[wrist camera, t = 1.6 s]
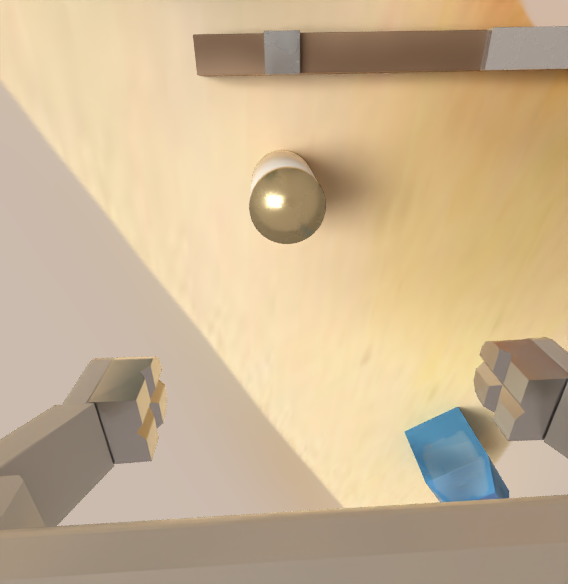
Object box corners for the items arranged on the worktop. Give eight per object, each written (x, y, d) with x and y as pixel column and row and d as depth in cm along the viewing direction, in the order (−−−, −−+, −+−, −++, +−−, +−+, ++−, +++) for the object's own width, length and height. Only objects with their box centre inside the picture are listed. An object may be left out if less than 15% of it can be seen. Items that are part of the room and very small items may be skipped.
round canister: (250, 151, 28) (246, 169, 22) (312, 149, 28) (326, 167, 22) (253, 212, 30) (251, 245, 24) (311, 210, 30) (324, 242, 24)
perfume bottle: (457, 406, 41) (526, 518, 30) (477, 440, 43) (547, 554, 33) (404, 431, 42) (452, 547, 32) (426, 462, 45) (478, 579, 34)
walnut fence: (200, 39, 25) (191, 32, 21) (598, 32, 26) (646, 25, 22) (203, 77, 26) (196, 75, 22) (587, 69, 27) (631, 67, 23)
